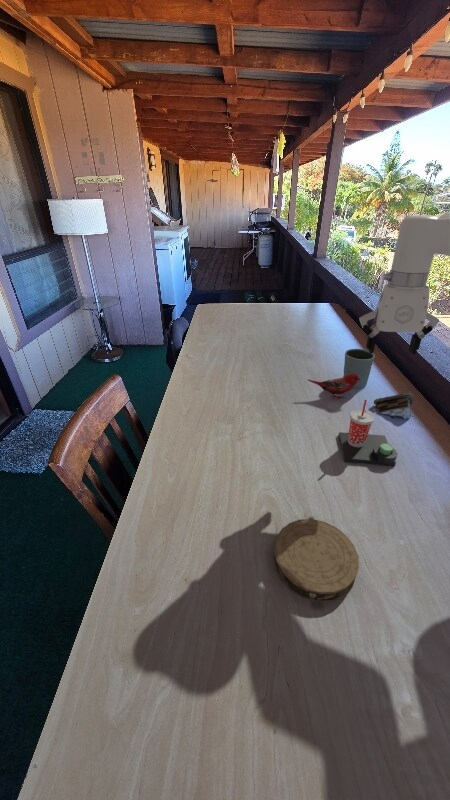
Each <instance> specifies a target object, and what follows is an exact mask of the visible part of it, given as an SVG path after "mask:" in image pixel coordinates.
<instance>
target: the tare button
mask: <svg viewBox="0 0 450 800" xmlns="http://www.w3.org/2000/svg"><path fill="white" fill-rule="evenodd" d="M392 447H393V446H392V445H391V444H389V443H388V444H381V445H380V449H379V452H380V453H381V454H383V455H391V452H392V449H393V448H394V447H393V448H392Z"/></svg>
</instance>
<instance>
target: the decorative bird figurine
mask: <svg viewBox="0 0 450 800" xmlns="http://www.w3.org/2000/svg"><path fill="white" fill-rule="evenodd" d="M358 380H361V379H360V378H359V377H358V375H357V374H355V373H352V374H349V375H347V376H345V377H343V376H342V377H339V378H338V377H337V378H331V379H327V380H324V381H317V380H314V379H313V380H312V379H307V381H308V382H309V383H312V384H315V385H318V386H319V387H320V388H321V389H322V390H323V391H326V392H327V393H330V394H331V395H330V397H332V398H336V399H341V398H344V399H345V396H340V395H343V394H347V393H348V392H349V391H351V390H352V389H354V388H353V387H354V385H355V384H356V383H357V381H358Z"/></svg>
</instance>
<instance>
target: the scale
mask: <svg viewBox="0 0 450 800" xmlns="http://www.w3.org/2000/svg"><path fill="white" fill-rule="evenodd" d="M348 434H349V432H342V431H341V432H340V431H339V432H338V435H337V436H338V440H339V444H340V449H341V453H342V458H343V461H344V463H349V464H362V465H373V466H383V467H385V466H386V467H396V464H397V461H396V460H397V458H398V452H397V449H395V448H394V447H393V446H392V448H393V449H392V452H391V455H383V454H381V453H380V452H379V449H380V445H381V444H389V442H388V440H387V438H386V435H383V434H370V433H368V436H367V439H366V442H365V444H364V446H363V447H354V446H351V445H350V444H349V443H348Z"/></svg>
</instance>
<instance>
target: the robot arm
mask: <svg viewBox="0 0 450 800" xmlns="http://www.w3.org/2000/svg"><path fill="white" fill-rule="evenodd" d="M435 255H445V256H450V211H448V212H445V213H444V214H441V215H440V216H438V215H431V214H415V215H413V214H412V215H408V216H406V217H403V219H402V220H401V221H400V225H399V230H398V234H397V240H396V243H395V248H394V253H393V258H392V263H391V268H390V269H389V271H388V272H387V273H383V275H382V281H387V282H388V283H385V284H384V285H383V288H382V291H381V294H380V296H379V299H378V303H377V305H376V309H375V310H372V311H370V312H368V313H366V314H363V315H361V316H359V318H358V319H359V322H360V325H361V328H362V329H363V331H364V332H365V334H367V339H366V345H365V347H366V350H367V351H369V352H370V353H373V354H375V353H374V352H375V347H376V344H377V343H376V342H377V337H376V336H377V335H378V334H379V333H380V332H385V333H413V334H412V335H411V338H410V342H409V346H408V351H409V352H410V353H411V355H416V354H417V352H418V351H419V349H420V346H421V343H422V339H424V338H425V336H426V335H428V334H430V333H431V332H432V331H433V329H435V327H436V325H438V324H439V322H440V319H439V318H438V317H437V316H434V315H433V314H431V313H430V312H428V310H429V302H430V290H431V289H430V288H431V287H430V286H429V285H427V283H428V279H429V275H430V270H431V267H432V263H433V260H434V256H435ZM372 320H373V324H372V325H371V326H369V325H368V322H369V321H372ZM426 320H427V321H428V322H427V324H426Z"/></svg>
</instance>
